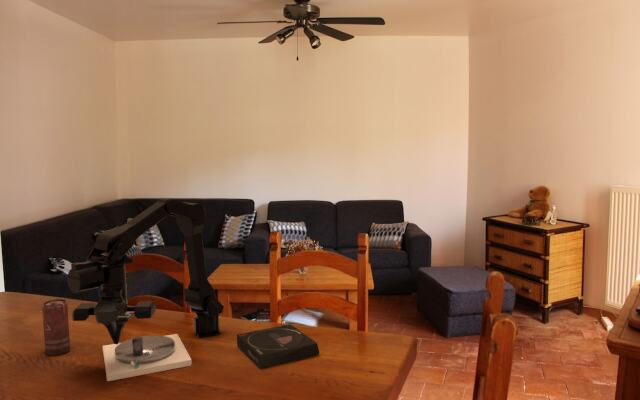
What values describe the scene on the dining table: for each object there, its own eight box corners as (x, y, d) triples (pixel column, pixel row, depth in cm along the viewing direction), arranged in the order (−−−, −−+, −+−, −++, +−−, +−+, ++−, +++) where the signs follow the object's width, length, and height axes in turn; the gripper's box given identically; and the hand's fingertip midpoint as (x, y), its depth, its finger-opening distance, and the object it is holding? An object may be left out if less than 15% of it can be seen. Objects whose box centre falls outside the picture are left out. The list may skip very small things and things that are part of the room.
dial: (127, 340, 144) (126, 321, 143) (181, 340, 144) (180, 320, 143) (102, 367, 127) (100, 345, 126) (163, 366, 127) (162, 344, 126)
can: (60, 357, 137) (57, 306, 136) (40, 355, 139) (36, 304, 137) (76, 348, 143) (72, 299, 142) (55, 346, 145) (52, 297, 143)
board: (177, 338, 150) (177, 333, 150) (191, 365, 132) (191, 359, 132) (102, 351, 141) (102, 345, 141) (107, 381, 123) (106, 374, 123)
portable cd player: (319, 356, 138) (319, 342, 137) (259, 371, 129) (259, 355, 129) (292, 336, 152) (292, 323, 152) (237, 348, 144) (236, 334, 143)
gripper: (61, 293, 119) (65, 358, 121) (144, 291, 121) (147, 355, 123) (79, 281, 130) (82, 340, 132) (155, 278, 132) (157, 337, 134)
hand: (116, 343), depth 130 cm, fingers closed
